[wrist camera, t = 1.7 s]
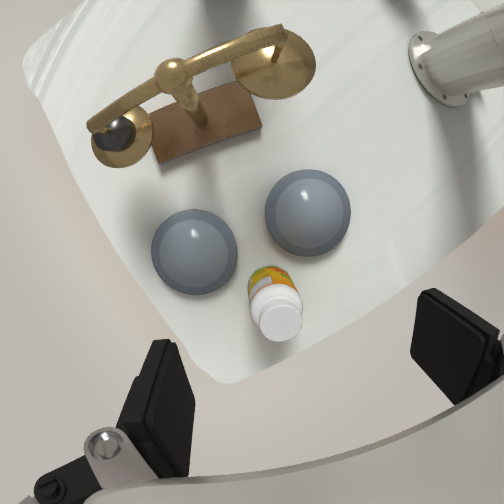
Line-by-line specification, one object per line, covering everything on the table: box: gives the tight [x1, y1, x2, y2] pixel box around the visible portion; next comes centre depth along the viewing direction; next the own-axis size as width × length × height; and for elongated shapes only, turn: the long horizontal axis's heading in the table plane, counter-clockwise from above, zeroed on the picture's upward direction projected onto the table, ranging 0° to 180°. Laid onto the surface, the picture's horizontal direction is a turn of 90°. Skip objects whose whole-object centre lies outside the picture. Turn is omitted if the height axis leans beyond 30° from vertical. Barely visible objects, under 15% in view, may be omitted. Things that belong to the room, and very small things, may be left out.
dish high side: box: [265, 170, 351, 256], centre depth 32 cm, size 10×10×1 cm
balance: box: [86, 24, 316, 168], centre depth 20 cm, size 20×6×18 cm, turn 109°
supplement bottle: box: [248, 265, 303, 342], centre depth 30 cm, size 5×5×10 cm
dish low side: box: [151, 209, 237, 295], centre depth 32 cm, size 10×10×1 cm
